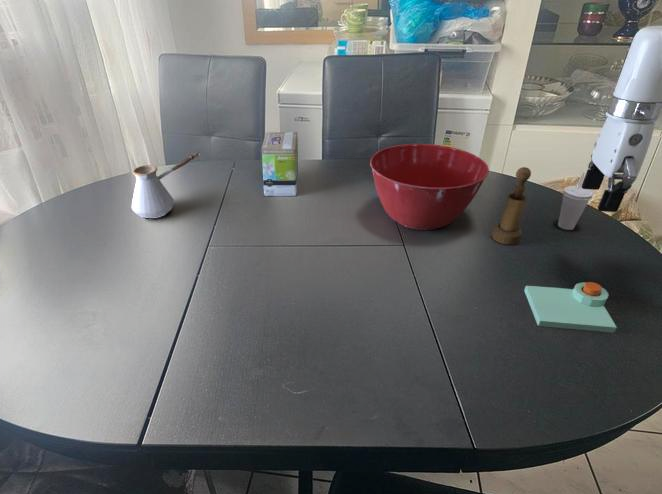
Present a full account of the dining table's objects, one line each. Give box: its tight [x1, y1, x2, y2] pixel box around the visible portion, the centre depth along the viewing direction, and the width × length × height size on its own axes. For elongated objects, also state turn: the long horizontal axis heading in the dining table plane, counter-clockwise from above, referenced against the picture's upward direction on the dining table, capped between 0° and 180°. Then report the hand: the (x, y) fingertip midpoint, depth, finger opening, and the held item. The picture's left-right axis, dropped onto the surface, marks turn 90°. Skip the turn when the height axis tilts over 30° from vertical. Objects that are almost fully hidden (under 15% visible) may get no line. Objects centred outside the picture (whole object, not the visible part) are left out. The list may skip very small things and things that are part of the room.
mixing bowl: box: [369, 143, 490, 231], centre depth 114 cm, size 28×28×16 cm
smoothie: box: [557, 172, 594, 231], centre depth 109 cm, size 6×6×14 cm
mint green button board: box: [523, 281, 618, 334], centre depth 86 cm, size 14×11×3 cm
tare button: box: [583, 281, 603, 296], centre depth 86 cm, size 3×3×2 cm
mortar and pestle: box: [491, 166, 532, 246], centre depth 104 cm, size 7×6×18 cm
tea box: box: [261, 131, 299, 197], centre depth 134 cm, size 15×10×15 cm, turn 178°
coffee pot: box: [131, 152, 203, 218], centre depth 123 cm, size 21×12×15 cm, turn 114°
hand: (598, 199), depth 86 cm, fingers open, 9 cm apart
